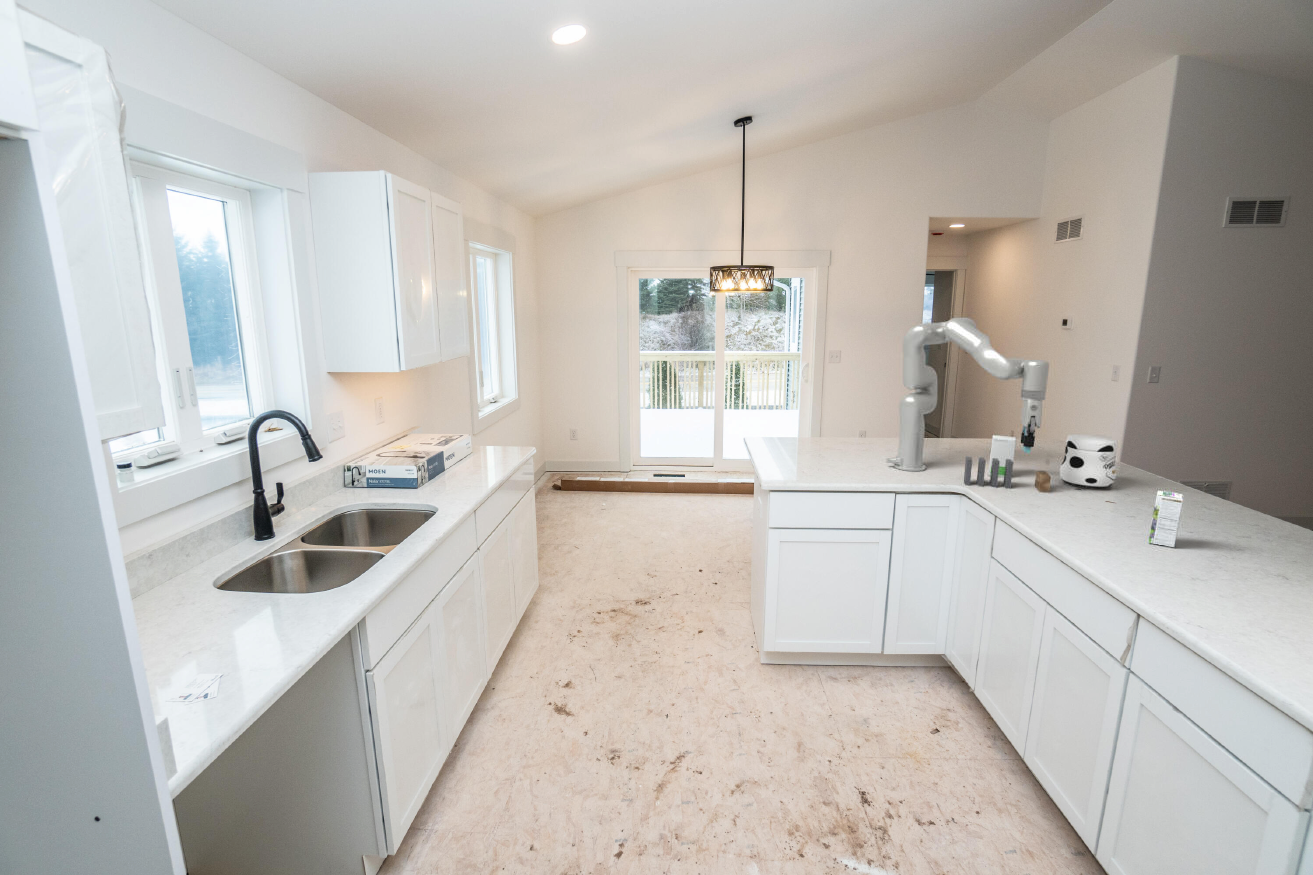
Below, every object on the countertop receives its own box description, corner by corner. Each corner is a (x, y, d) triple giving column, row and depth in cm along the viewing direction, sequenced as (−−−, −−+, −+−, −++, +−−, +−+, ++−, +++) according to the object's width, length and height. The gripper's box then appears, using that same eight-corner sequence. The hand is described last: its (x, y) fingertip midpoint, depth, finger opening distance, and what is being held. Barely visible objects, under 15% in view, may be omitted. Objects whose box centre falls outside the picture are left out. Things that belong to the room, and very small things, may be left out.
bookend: (1039, 491, 222) (1041, 475, 221) (1034, 485, 229) (1036, 470, 228) (1049, 492, 221) (1050, 476, 220) (1043, 486, 228) (1045, 471, 227)
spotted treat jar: (1124, 492, 220) (1131, 443, 216) (1070, 490, 223) (1076, 442, 220) (1100, 479, 237) (1106, 434, 233) (1050, 477, 240) (1056, 433, 236)
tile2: (978, 486, 230) (980, 460, 228) (976, 482, 235) (979, 457, 233) (983, 486, 229) (985, 460, 227) (981, 483, 234) (983, 457, 232)
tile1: (965, 485, 231) (967, 459, 229) (963, 481, 236) (966, 456, 234) (969, 485, 231) (972, 459, 229) (968, 482, 235) (970, 456, 233)
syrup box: (1148, 538, 176) (1156, 489, 173) (1175, 542, 173) (1183, 493, 170) (1148, 544, 172) (1156, 494, 169) (1175, 548, 168) (1184, 498, 165)
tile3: (992, 487, 228) (994, 461, 226) (990, 483, 233) (992, 458, 231) (996, 487, 228) (999, 461, 226) (994, 484, 232) (997, 458, 230)
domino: (1025, 452, 219) (1028, 425, 217) (1022, 449, 224) (1025, 422, 222) (1030, 452, 219) (1033, 425, 216) (1027, 449, 223) (1030, 423, 221)
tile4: (1005, 488, 227) (1008, 462, 225) (1003, 484, 231) (1005, 459, 229) (1010, 488, 226) (1013, 462, 224) (1008, 485, 231) (1010, 459, 229)
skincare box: (988, 475, 244) (991, 437, 241) (988, 472, 250) (991, 434, 246) (1012, 478, 240) (1016, 439, 237) (1011, 474, 246) (1015, 436, 243)
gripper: (1050, 398, 208) (1043, 450, 212) (1040, 392, 223) (1034, 441, 227) (1024, 397, 211) (1018, 449, 214) (1016, 391, 226) (1011, 439, 230)
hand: (1027, 444), depth 221 cm, fingers closed on domino, 4 cm apart
